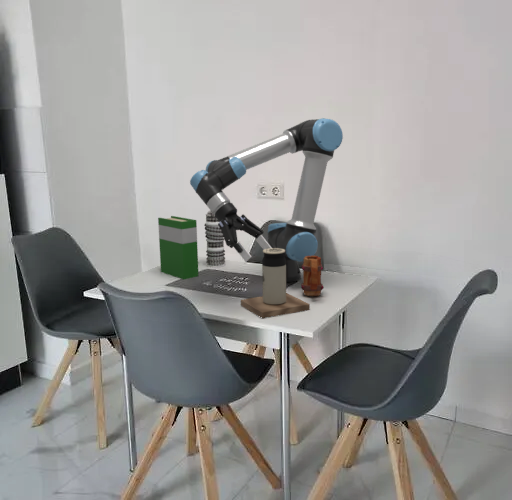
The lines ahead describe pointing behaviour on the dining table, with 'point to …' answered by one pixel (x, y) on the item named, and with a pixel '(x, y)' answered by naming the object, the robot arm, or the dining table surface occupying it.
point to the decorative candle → (214, 242)
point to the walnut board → (274, 306)
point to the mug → (312, 276)
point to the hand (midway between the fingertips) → (259, 255)
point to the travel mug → (274, 276)
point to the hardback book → (178, 247)
